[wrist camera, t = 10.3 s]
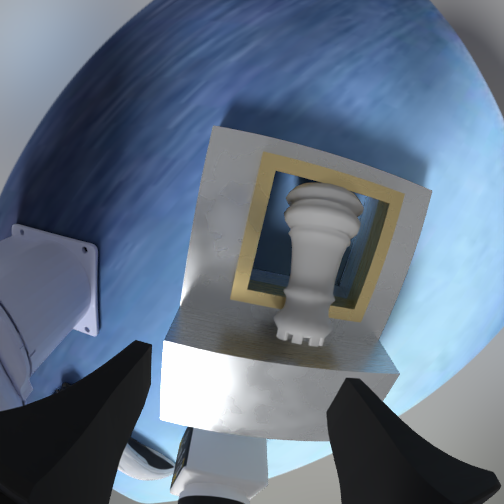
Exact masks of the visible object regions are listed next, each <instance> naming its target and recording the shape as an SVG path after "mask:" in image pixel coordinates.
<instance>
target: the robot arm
mask: <svg viewBox="0 0 504 504" xmlns="http://www.w3.org/2000/svg"><path fill="white" fill-rule="evenodd" d="M23 231H24V233H23ZM84 247H86V248H87V252H86V251H85V248H84ZM97 267H98V249H97V247H96V246H95V245H94V244H92V243H88V242H84V241H80V240H76V239H72V238H68V237H65V236H61V235H57V234H53V233H49V232H46V231H42V230H38V229H35V228H31V227H27V226H24V225H20V224H14V225H13V226H12V236H11V237H9V238H6V239H4V240H2V241H0V504H109V500H110V496H111V491H112V488H113V484H114V480H115V476H116V473H117V469H118V466H119V463H120V459H121V457H122V454H123V451H124V449H125V447H126V445H127V442H128V440H129V438H130V436H131V434H132V431H133V429H134V427H135V425H136V423H137V420H138V418H139V416H140V414H141V412H142V409H143V407H144V404H145V401H146V398H147V395H148V392H149V388H150V385H151V355H152V344H148V343H144V342H141V341H137V340H135V341H134V342H132V343H131V344H130V345H128V346H127V347H126V348H125V349H123V350H122V351H121V352H120V353H118V354H117V355H116V356H114V357H113V358H112V359H110V360H109V361H108V362H106V363H105V364H104V365H102V366H101V367H99V368H98V369H97V370H95V371H94V372H92V373H90V374H89V375H87V376H86V377H84V378H83V379H81V380H79V381H78V382H76V383H74V384H73V385H71V386H69V387H67V388H65V389H63V390H61V391H59V392H57V393H55V394H53V395H51V396H48V397H46V398H43V399H41V400H38V401H35V402H33V403H30V404H27V403H26V401H25V399H26V398H27V397H28V395H29V394H30V393H31V391H32V390H33V388H32V386H31V384H30V380H29V378H30V377H31V375H32V374H33V373H34V372H35V371H36V369H37V368H38V367H39V366H40V365H41V364H42V362H43V361H44V360H45V359H46V358H47V357H48V355H49V354H50V353H51V352H52V351H53V350H54V349H55V348H56V346H57V345H58V344H59V343H60V342H61V341H62V340H63V339H64V338H65V337H66V335H67V334H68V333H69V332H70V331H71V330H72V329H75V330H78V331H81V332H83V333H86V334H89V335H92V336H97V334H98V333H99V323H98V296H97ZM87 327H88V328H89V329H88V328H87ZM326 415H327V427H328V435H329V440H330V444H331V448H332V452H333V456H334V461H335V465H336V469H337V473H338V477H339V483H340V490H341V502H342V504H483V503H484V502H485V501H487V500H488V499H489V498H490V497H492V496H493V495H494V494H495V493H496V492H497V491H498V490H499V489H500V487H501V484H500V482H499V481H498V479H497V477H496V475H495V474H494V473H493V472H491V471H488V470H484V469H481V468H478V467H475V466H472V465H470V464H467V463H465V462H462V461H460V460H458V459H456V458H454V457H452V456H450V455H448V454H447V453H445V452H443V451H441V450H440V449H438V448H436V447H435V446H433V445H432V444H430V443H429V442H427V441H426V440H425V439H423V438H422V437H421V436H420V435H418V434H417V433H416V432H414V431H413V430H412V429H411V428H410V427H409V426H408V425H407V424H405V423H404V422H403V421H402V420H401V419H400V418H399V417H398V416H397V415H396V414H395V413H394V412H393V411H392V410H391V409H390V408H389V407H388V406H387V405H386V404H385V403H384V402H383V401H382V400H381V399H380V398H379V397H378V396H377V395H376V394H375V393H374V392H373V391H372V390H371V389H370V388H369V387H368V386H367V385H366V384H365V383H364V382H363V381H362V380H361V379H360V378H345V380H344V382H343V384H342V385H341V387H340V389H339V391H338V393H337V394H336V396H335V398H334V400H333V401H332V403H331V405H330V407H329V408H328V410H327V412H326Z"/></svg>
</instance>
